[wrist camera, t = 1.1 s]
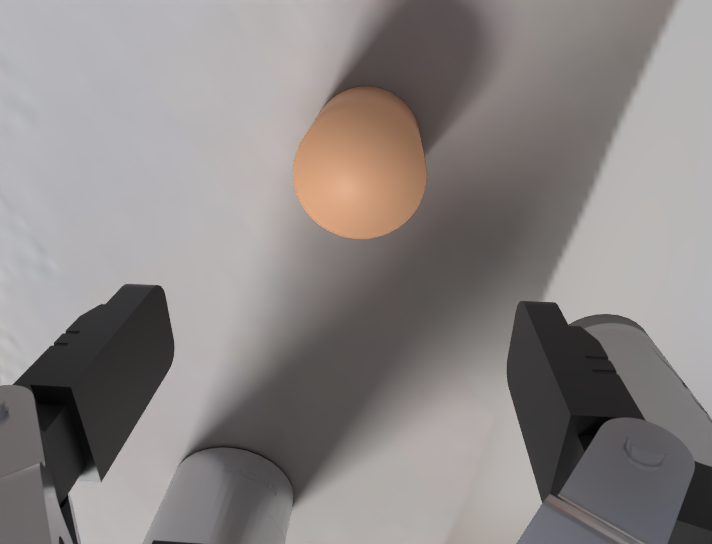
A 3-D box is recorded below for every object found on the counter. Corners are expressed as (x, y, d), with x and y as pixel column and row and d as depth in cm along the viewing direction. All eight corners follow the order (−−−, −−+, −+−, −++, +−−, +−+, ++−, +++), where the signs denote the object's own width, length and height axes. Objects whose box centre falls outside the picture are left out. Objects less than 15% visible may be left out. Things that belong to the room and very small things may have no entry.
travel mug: (545, 403, 34) (708, 835, 17) (540, 319, 31) (733, 735, 14) (646, 392, 33) (933, 836, 16) (651, 305, 30) (1011, 730, 13)
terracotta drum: (383, 212, 29) (381, 260, 24) (293, 160, 28) (270, 198, 22) (441, 124, 26) (453, 155, 21) (345, 63, 25) (333, 80, 20)
